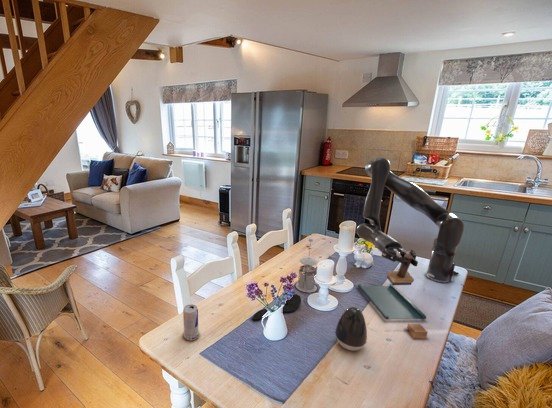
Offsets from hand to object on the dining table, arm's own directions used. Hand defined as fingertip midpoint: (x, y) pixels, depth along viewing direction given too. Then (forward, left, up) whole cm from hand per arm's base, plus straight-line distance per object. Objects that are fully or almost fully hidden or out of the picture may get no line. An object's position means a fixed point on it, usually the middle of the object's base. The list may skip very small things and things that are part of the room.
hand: (411, 264), depth 118 cm
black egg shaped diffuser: (+25, +20, -24) cm, 40 cm away
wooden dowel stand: (+1, -6, -11) cm, 12 cm away
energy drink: (+82, +25, -24) cm, 89 cm away
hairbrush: (+50, +4, -24) cm, 55 cm away
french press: (+36, -16, -24) cm, 46 cm away
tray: (+2, -9, -24) cm, 26 cm away
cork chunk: (-1, +10, -24) cm, 26 cm away
